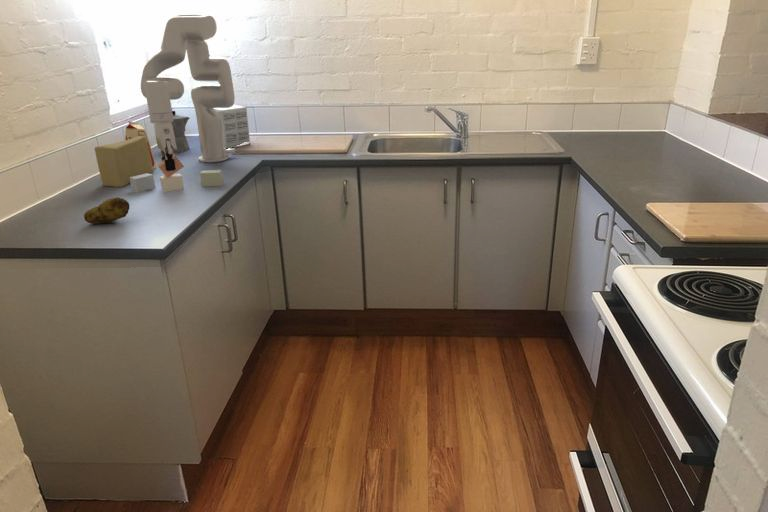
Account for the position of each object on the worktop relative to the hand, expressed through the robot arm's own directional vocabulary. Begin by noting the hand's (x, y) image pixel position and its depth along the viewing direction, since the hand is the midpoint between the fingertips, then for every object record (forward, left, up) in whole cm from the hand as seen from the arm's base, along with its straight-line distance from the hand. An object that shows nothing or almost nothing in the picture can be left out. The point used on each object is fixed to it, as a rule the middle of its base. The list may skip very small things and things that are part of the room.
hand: (169, 168), depth 205 cm
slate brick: (+9, -6, -8) cm, 13 cm away
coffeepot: (-17, -65, -8) cm, 68 cm away
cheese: (+10, -23, -8) cm, 26 cm away
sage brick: (-14, +2, -8) cm, 16 cm away
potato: (+25, +27, -8) cm, 38 cm away
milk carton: (+4, -37, -8) cm, 38 cm away
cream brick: (0, 0, -8) cm, 8 cm away
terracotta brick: (-2, 0, -1) cm, 2 cm away
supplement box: (-42, -64, -8) cm, 77 cm away
